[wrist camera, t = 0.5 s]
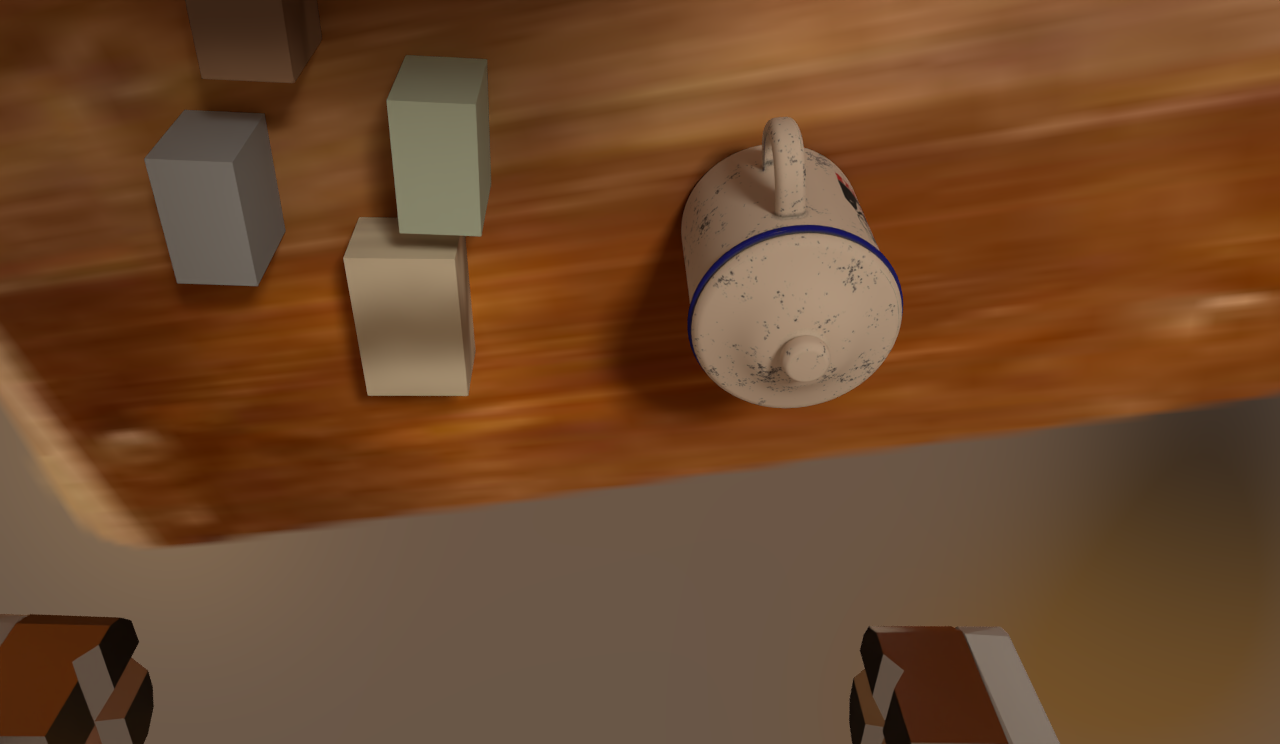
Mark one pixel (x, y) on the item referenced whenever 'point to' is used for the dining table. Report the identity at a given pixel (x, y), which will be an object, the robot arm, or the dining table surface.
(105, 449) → the dining table surface
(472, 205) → the sage block
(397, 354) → the maple block
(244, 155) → the grey block
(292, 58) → the walnut block
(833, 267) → the teacup with lid
